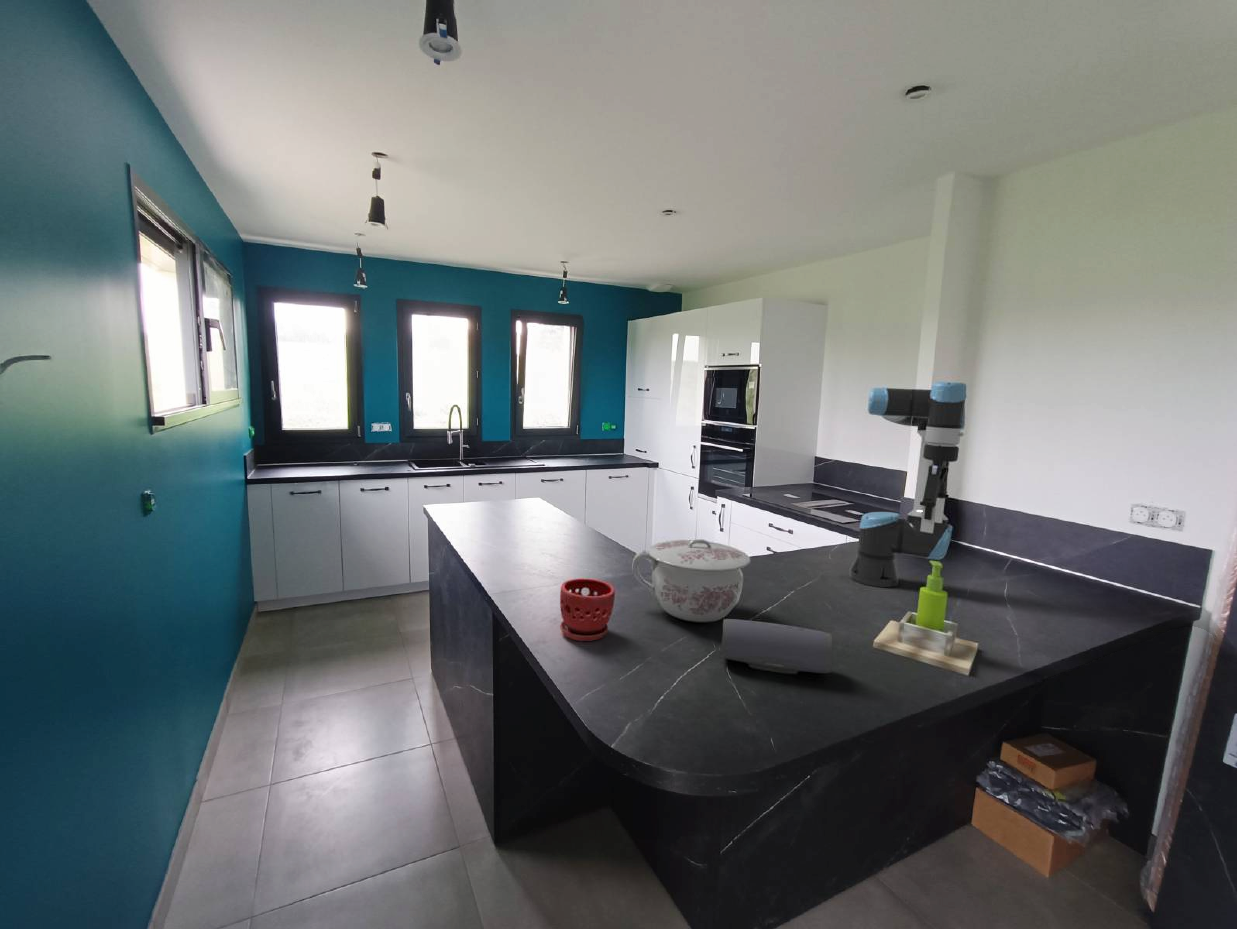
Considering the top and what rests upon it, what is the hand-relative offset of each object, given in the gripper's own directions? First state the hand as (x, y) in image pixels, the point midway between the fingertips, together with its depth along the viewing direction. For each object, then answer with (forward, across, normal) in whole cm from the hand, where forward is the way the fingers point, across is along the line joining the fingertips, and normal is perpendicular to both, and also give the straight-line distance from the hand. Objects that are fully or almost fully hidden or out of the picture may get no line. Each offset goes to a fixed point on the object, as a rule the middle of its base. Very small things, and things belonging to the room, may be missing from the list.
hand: (931, 527), depth 142 cm
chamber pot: (+28, -31, +50) cm, 65 cm away
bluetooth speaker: (+28, -46, +21) cm, 58 cm away
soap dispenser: (+27, -9, -3) cm, 29 cm away
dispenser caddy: (+28, -9, -3) cm, 30 cm away
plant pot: (+27, -62, +62) cm, 92 cm away
